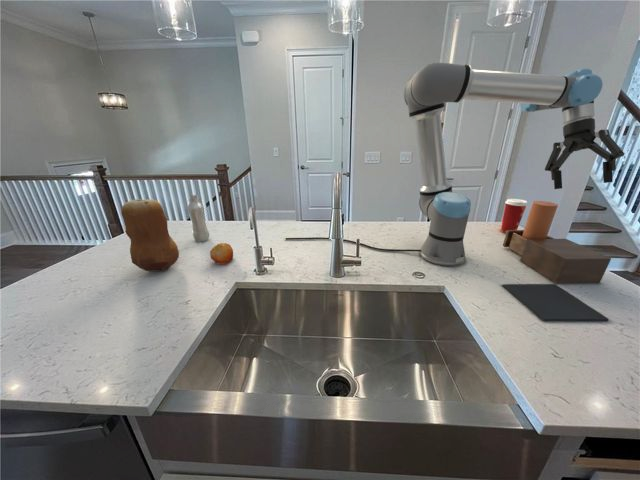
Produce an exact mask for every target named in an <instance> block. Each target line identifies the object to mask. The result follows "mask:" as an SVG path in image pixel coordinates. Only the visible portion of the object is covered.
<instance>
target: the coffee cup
mask: <svg viewBox="0 0 640 480" xmlns="http://www.w3.org/2000/svg"><path fill="white" fill-rule="evenodd" d="M504 203H505V205H504V211H503V215H502V221H501V225H500V232H501V233H502V234H505V232H506V231H507V230H519V229H518V228H519V226H520V223H521V221H522V218H523V215H524V213H525V210H526V207H527V206H528V201H527V200H525V199H519V198H507V199H506V201H505V202H504Z"/></svg>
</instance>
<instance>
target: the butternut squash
mask: <svg viewBox="0 0 640 480" xmlns="http://www.w3.org/2000/svg"><path fill="white" fill-rule="evenodd" d="M120 213H121V216H122V219H123V222H124V226H125V235H127V237H128V238H129V239H130V247H129V254H130V258H131V263H132V264H134V266H136V267H138V268H139V269H141V270H143V271H146V272H154V271H158V272H163V271H164V270H168V269H169V268H170V267H171V266H174V264H175V263H176V262H177V261H178V259H179V256H180V252H179V248H178V245H177V242H176V241H175V240H174V239H173V237H172V236H171V235H170V233H169V229H168V228H169V227H168V219H167V217H166V216H167V215H166V213H165V210H164V208H163V206H162V204H161V203H160V202H159V201H158V200H156V199H152V198H151V199H140V198H138V199H137V198H136V199H131V200H129V201H126V202H125V203H124V204H123V205H122V207H121V212H120Z"/></svg>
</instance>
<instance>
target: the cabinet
mask: <svg viewBox="0 0 640 480" xmlns="http://www.w3.org/2000/svg"><path fill="white" fill-rule="evenodd" d="M520 256H521V255H520ZM519 261H520V262H522V263H523V264H524V265H526V266H528V267H529V268H531V269H532V270H534V271H535V272H537V273H539V274H540V275H542V276H543V277H545V278H546V279H548V280H549V281H551V282H552V283H553V284H601V282H602V280H603V278H604V275H605V273H606V270H608V267H609V265H610V263H611V261H612V258H611V257H608V256H606V255H605V254H602V253H599V252H597V251H595V250H592V249H590V248H588V247H587V246H584V245H581V244H579V243H577V242H574V241H572V240H570V239H568V238H554V239H527V241H526V244H525V247H524V250H523V253H522V256H521V257H520V260H519Z"/></svg>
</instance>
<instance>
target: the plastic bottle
mask: <svg viewBox="0 0 640 480" xmlns="http://www.w3.org/2000/svg"><path fill="white" fill-rule="evenodd" d="M188 202H189V204H188V205H187V209H186V210H187V213H188V216H189V218H190V222H191V227H192V237H193V239H194V241H196V242H204V241H207V240H209V239H210V232H209V229H208V226H207V223H206V217H205V207H204V205H203V203H201V202H200V198H199V195H197V194H194V195H193V194H192V195H189V196H188Z"/></svg>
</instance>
